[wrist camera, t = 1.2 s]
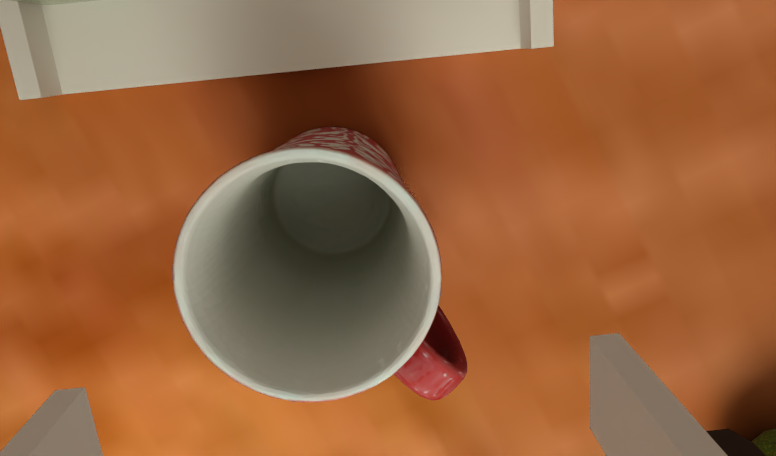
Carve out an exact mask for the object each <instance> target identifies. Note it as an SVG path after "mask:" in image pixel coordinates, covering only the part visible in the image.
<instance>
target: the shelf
mask: <svg viewBox="0 0 776 456" xmlns="http://www.w3.org/2000/svg"><path fill="white" fill-rule="evenodd" d="M0 27H1V31H2V35H3V39H4V43H5V47H6V50H7V54H8V58H9V62H10V66H11V70H12V74H13V77H14V81H15V85H16V89H17V93H18V97H19V100H25V99H35V98H44V97H50V96H56V95H62V94H72V93H82V92H92V91H102V90H112V89H122V88H132V87H142V86H152V85H162V84H171V83H181V82H191V81H201V80H211V79H221V78H231V77H241V76H251V75H261V74H271V73H281V72H291V71H301V70H311V69H321V68H331V67H341V66H351V65H361V64H371V63H381V62H391V61H401V60H411V59H420V58H430V57H440V56H450V55H460V54H470V53H480V52H490V51H500V50H510V49H520V48H525V49H533V48H543V47H553V46H554V42H553V0H97V1H87V2H77V3H66V4H56V5H41V4H33V3H25V2H17V1H10V0H0Z"/></svg>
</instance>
